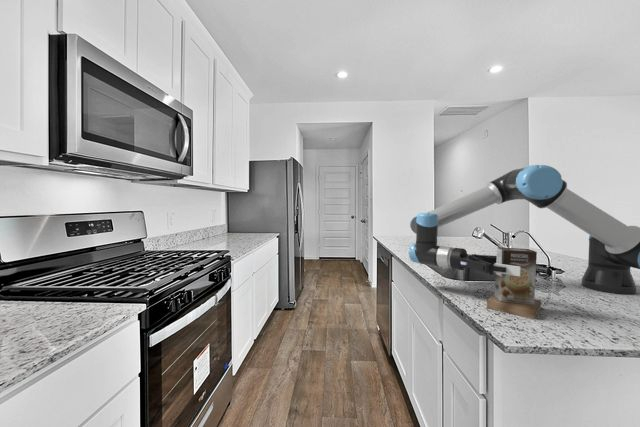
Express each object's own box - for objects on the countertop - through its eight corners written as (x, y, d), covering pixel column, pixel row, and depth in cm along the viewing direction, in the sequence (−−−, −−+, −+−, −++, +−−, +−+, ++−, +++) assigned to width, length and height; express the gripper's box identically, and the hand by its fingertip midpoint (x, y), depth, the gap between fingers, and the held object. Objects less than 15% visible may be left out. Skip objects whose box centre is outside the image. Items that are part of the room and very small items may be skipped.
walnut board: (540, 308, 91) (541, 300, 91) (534, 319, 83) (534, 310, 83) (497, 299, 100) (497, 292, 100) (486, 308, 91) (487, 300, 91)
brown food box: (500, 302, 89) (502, 249, 89) (494, 295, 96) (495, 246, 95) (535, 305, 87) (537, 251, 86) (526, 298, 93) (528, 248, 92)
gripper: (464, 263, 113) (531, 273, 98) (438, 274, 95) (515, 288, 80) (465, 244, 112) (532, 250, 98) (438, 251, 95) (516, 261, 80)
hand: (525, 267), depth 89 cm, fingers open, 13 cm apart
